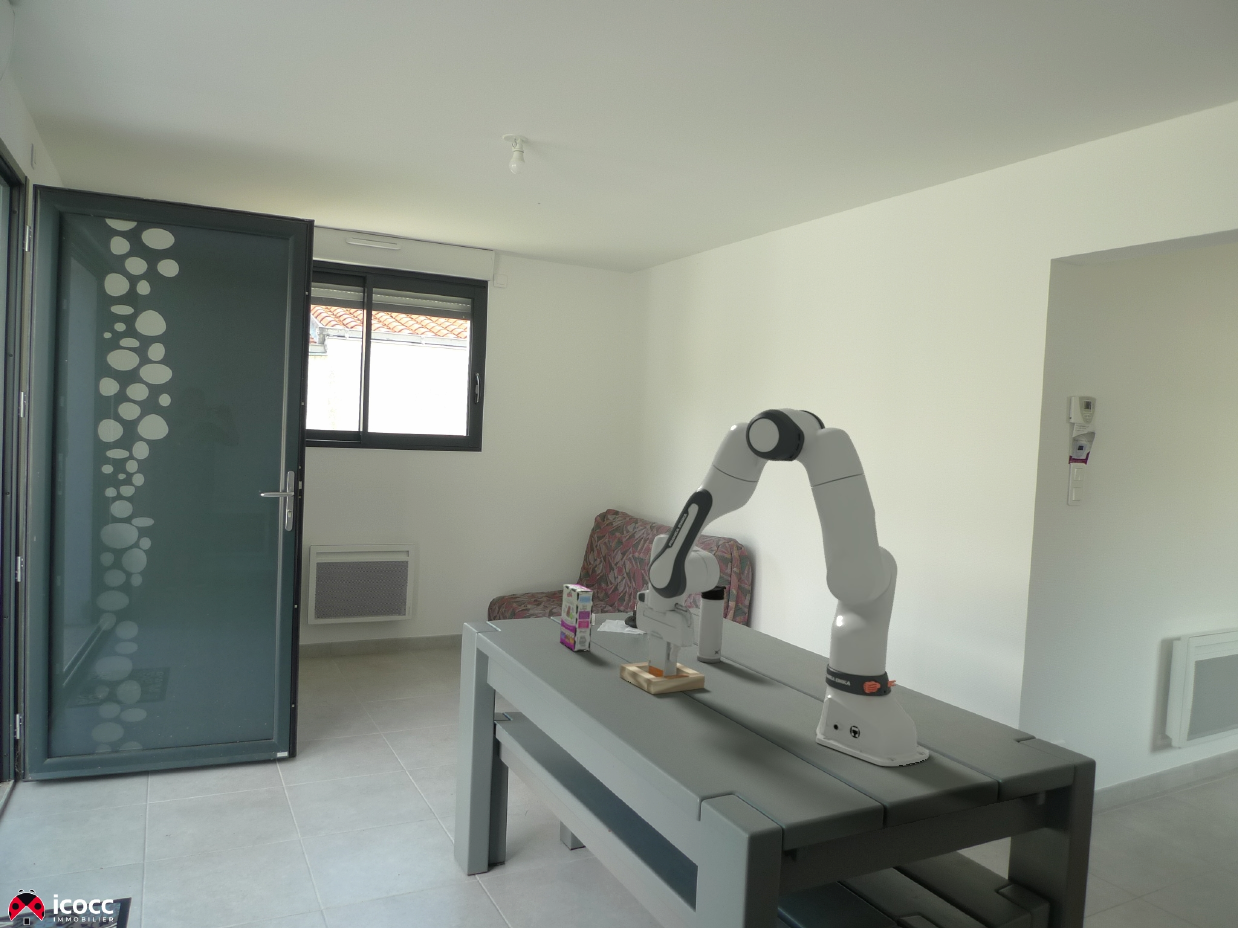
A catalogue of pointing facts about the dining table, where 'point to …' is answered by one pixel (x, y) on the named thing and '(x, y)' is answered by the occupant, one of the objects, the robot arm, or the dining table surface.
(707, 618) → the travel mug
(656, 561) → the robot arm
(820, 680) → the dining table surface
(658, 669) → the skincare box
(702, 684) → the frame
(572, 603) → the candy bar box
